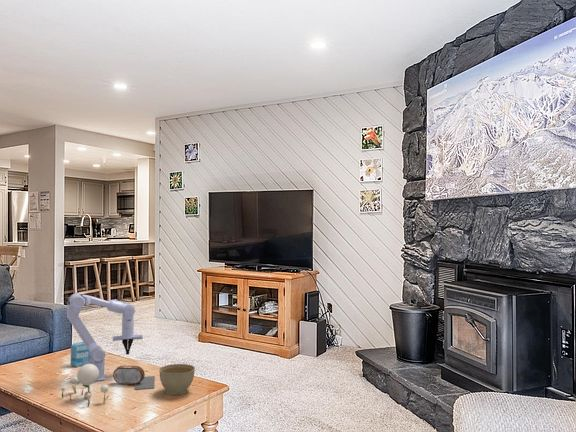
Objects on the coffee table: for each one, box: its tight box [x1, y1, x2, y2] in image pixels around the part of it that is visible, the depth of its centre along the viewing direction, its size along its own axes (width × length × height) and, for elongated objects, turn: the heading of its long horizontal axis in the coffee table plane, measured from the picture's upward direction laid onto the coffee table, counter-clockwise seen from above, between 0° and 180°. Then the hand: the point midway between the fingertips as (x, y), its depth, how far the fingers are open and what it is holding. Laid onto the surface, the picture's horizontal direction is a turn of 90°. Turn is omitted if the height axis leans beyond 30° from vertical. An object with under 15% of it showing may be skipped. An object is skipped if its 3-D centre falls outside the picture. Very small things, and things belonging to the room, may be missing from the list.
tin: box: [112, 365, 146, 385], centre depth 233 cm, size 15×3×8 cm, turn 84°
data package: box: [70, 341, 91, 368], centre depth 264 cm, size 12×4×12 cm, turn 143°
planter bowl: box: [158, 363, 196, 396], centre depth 223 cm, size 16×16×11 cm
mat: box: [134, 375, 156, 391], centre depth 235 cm, size 9×18×1 cm, turn 15°
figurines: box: [60, 364, 109, 408], centre depth 212 cm, size 25×12×15 cm, turn 58°
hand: (127, 353), depth 248 cm, fingers closed
